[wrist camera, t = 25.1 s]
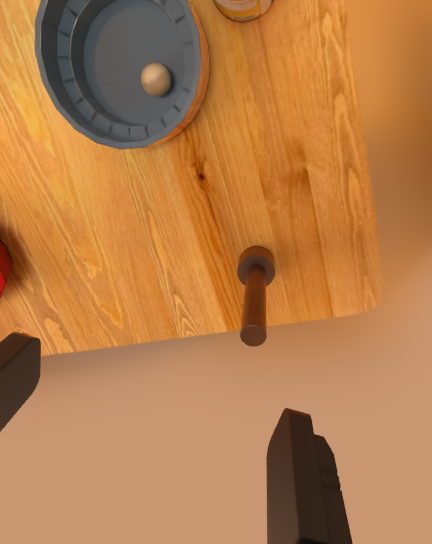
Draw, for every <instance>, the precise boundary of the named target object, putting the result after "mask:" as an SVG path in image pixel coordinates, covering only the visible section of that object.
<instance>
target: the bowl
mask: <svg viewBox="0 0 432 544" xmlns="http://www.w3.org/2000/svg"><path fill="white" fill-rule="evenodd" d="M35 54H36V58H37V62H38V66H39V70H40V74H41V79H42V82H43V84H44V86H45V88H46V90H47V92H48V94H49V96H50V98H51V100H52V102H53V103H54V105H55V107H56V109H57V110H58V111H59V112H60V113H61V114H62V116H63V117H64V118H65V119H66V120H67V121H68V122H69V123H70V124H71V126H72V127H73V128H74V129H75V130H77V131H78V132H80V133H82V134H83V135H85V136H86V137H88V138H89V139H91V140H93V141H94V142H96V143H98V144H102V145H106V146H109V147H113V148H117V149H132V148H144V147H148V146H152V145H155V144H159V143H161V142H163V141H166V140H168V139H170V138H172V137H174V136H176V135H178V134H179V133H180V132H181V131H182V130H183V129H184V128H185V127H186V126H187V125H188V124H189V123H190V122H191V121H192V120H193V119H194V117H195V115H196V113H197V111H198V110H199V108H200V106H201V104H202V102H203V100H204V97H205V94H206V89H207V84H208V79H209V74H210V66H209V53H208V44H207V40H206V37H205V34H204V31H203V29H202V26H201V23H200V20H199V17H198V15H197V14H196V12H195V11H194V9H193V8H192V6H191V4H190V3H189V1H188V0H41V2H40V5H39V9H38V12H37V16H36V19H35ZM151 62H158V63H161V64H163V65H164V66H165V67H166V68H167V69H168V71H169V73H170V75H171V86H170V89H169V91H168V92H167V93H166V94H165V95H163V96H159V97H155V96H152V95H150V94H148V93H147V92H146V91H145V90H144V88H143V86H142V83H141V73H142V70H143V68H144V67H145V66H146V65H147V64H149V63H151Z"/></svg>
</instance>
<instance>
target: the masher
mask: <svg viewBox="0 0 432 544" xmlns="http://www.w3.org/2000/svg"><path fill="white" fill-rule="evenodd" d="M274 275H275V267H274V259H273V256H272V254H271V253H270V252H269V251H268V250H266V249H265V248H262V247H251V248H249V249H247V250H245V251H244V252H243V253H242V255H241V256H240V259H239V265H238V277H239V279H240V281H241V282H242V283H243V284H244V285H245V294H244V303H243V313H242V322H241V333H240V337H241V340H242V341H243V342H244V343H245V344H247V345H248V346H259V345H261V344H263V343H264V341H265V340H266V286H267V285H269V284H270V283H271V282H272V280H273V278H274Z"/></svg>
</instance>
